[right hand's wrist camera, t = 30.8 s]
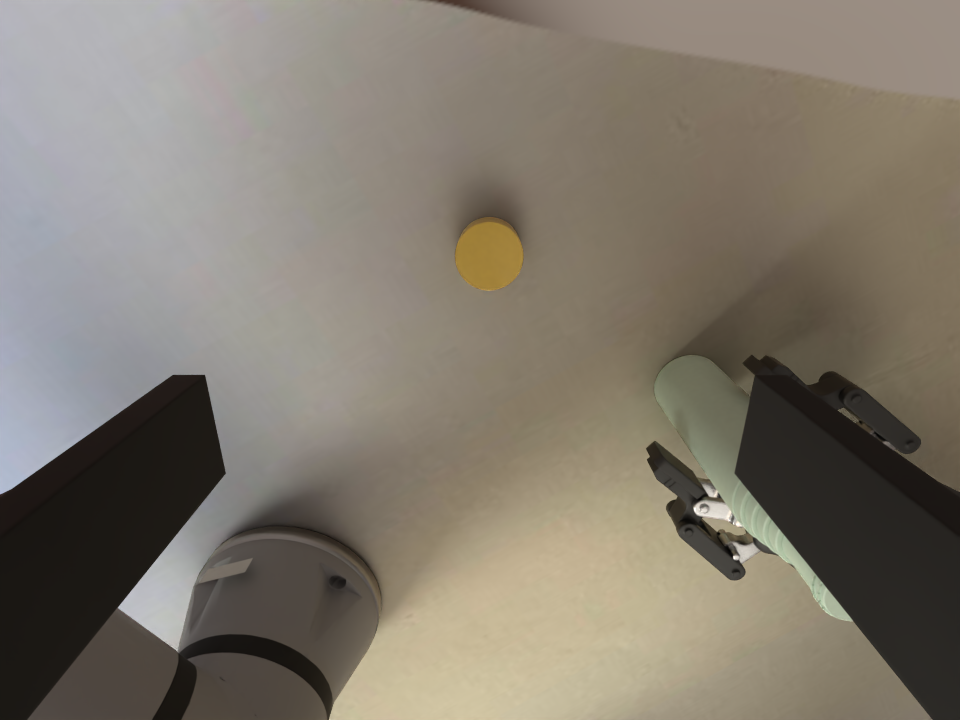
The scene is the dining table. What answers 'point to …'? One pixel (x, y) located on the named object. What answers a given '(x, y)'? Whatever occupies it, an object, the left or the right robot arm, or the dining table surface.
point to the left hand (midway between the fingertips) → (701, 410)
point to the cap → (489, 253)
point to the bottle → (726, 452)
